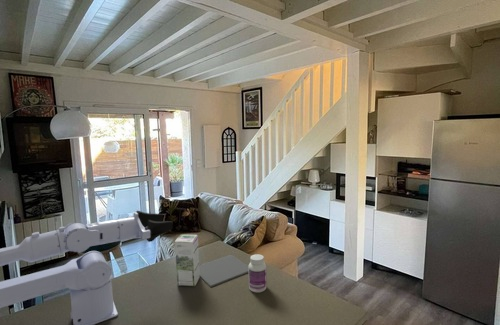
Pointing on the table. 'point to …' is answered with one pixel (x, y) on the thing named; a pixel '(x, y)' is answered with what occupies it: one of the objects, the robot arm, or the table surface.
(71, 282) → the robot arm
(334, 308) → the table surface
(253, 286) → the pill bottle
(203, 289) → the table surface
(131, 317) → the table surface
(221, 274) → the rubber mat
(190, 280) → the syrup box
